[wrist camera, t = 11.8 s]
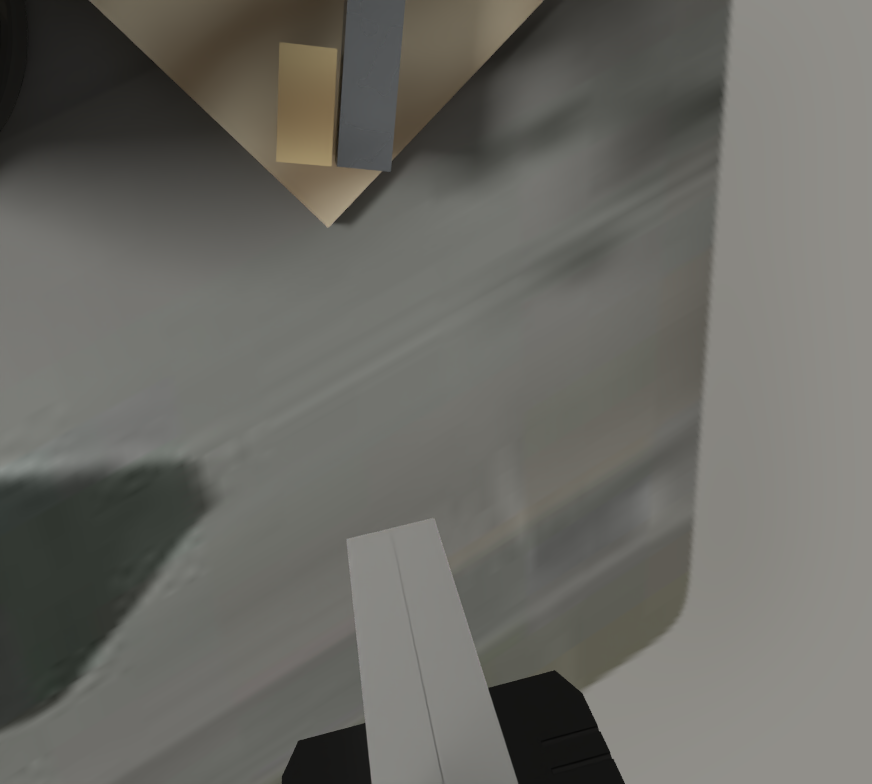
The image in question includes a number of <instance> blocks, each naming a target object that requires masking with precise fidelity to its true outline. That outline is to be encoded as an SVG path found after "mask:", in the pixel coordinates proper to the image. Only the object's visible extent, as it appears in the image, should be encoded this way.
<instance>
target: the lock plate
mask: <svg viewBox="0 0 872 784" xmlns="http://www.w3.org/2000/svg"><path fill="white" fill-rule="evenodd" d="M89 1H90V2H91V3H92V4H93V5H94V6H96V7H97V8H98V9H99V10H100V11H101V12H102V13H103V14H104V15H105V16H106V17H107V18H108V19H109V20H110V21H111V22H112V23H113V24H114V25H116V26H117V27H118V28H119V29H120V30H121V31H122V32H123V33H124V34H125V35H126V36H127V37H128V38H129V39H130V40H131V41H132V42H133V43H134V44H135V45H137V46H138V47H139V48H140V49H141V50H142V51H143V52H144V53H145V54H146V55H147V56H148V57H149V58H150V59H151V60H152V61H153V62H154V63H155V64H157V65H158V66H159V67H160V68H161V69H162V70H163V71H164V72H165V73H166V74H167V75H168V76H169V77H170V78H171V79H172V80H173V81H174V82H175V83H176V84H178V85H179V86H180V87H181V88H182V89H183V90H184V91H185V92H186V93H187V94H188V95H189V96H190V97H191V98H192V99H193V100H194V101H195V102H196V103H197V104H199V105H200V106H201V107H202V108H203V109H204V110H205V111H206V112H207V113H208V114H209V115H210V116H211V117H212V118H213V119H214V120H215V121H216V122H217V123H219V124H220V125H221V126H222V127H223V128H224V129H225V130H226V131H227V132H228V133H229V134H230V135H231V136H232V137H233V138H234V139H235V140H236V141H237V142H238V143H240V144H241V145H242V146H243V147H244V148H245V149H246V150H247V151H248V152H249V153H250V154H251V155H252V156H253V157H254V158H255V159H256V160H257V161H258V162H260V163H261V164H262V165H263V166H264V167H265V168H266V169H267V170H268V171H269V172H270V173H271V174H272V175H273V176H274V177H275V178H276V179H277V180H278V181H279V182H281V183H282V184H283V185H284V186H285V187H286V188H287V189H288V190H289V191H290V192H291V193H292V194H293V195H294V196H295V197H296V198H297V199H298V200H299V201H301V202H302V203H303V204H304V205H305V206H306V207H307V208H308V209H309V210H310V211H311V212H312V213H313V214H314V215H315V216H316V217H317V218H318V219H319V220H320V221H322V222H323V223H324V224H325V225H326V226H327V227H328V228H329V227H330V226H331V225H332V223H333V222H334V221H335V220H336V219H337V218H338V217H339V216H340V215H341V214H342V213H343V212H344V211H345V210H346V209H347V208H348V207H349V206H350V204H351V203H352V202H353V201H354V200H355V199H356V198H357V197H358V196H359V195H360V194H361V193H362V192H363V191H364V190H365V189H366V188H367V187H368V185H369V184H370V183H371V182H372V181H373V180H374V179H375V178H376V177H377V176H378V175H379V174H380V173H381V172H382V171H376V170H366V169H356V168H346V167H337V166H336V164H335V162H334V158H335V142H336V126H337V109H338V93H339V77H340V61H341V45H342V28H343V12H344V0H89ZM543 1H544V0H405V11H404V23H403V35H402V46H401V58H400V70H399V82H398V93H397V105H396V117H395V128H394V140H393V152H392V160H393V159H394V158H395V157H396V156H397V155H398V154H399V153H400V152H401V151H402V150H403V149H404V147H405V146H406V145H407V144H408V143H409V142H410V141H411V140H412V139H413V138H414V137H415V136H416V135H417V134H418V133H419V132H420V131H421V130H422V128H423V127H424V126H425V125H426V124H427V123H428V122H429V121H430V120H431V119H432V118H433V117H434V116H435V115H436V114H437V113H438V112H439V111H440V109H441V108H442V107H443V106H444V105H445V104H446V103H447V102H448V101H449V100H450V99H451V98H452V97H453V96H454V95H455V94H456V93H457V92H458V90H459V89H460V88H461V87H462V86H463V85H464V84H465V83H466V82H467V81H468V80H469V79H470V78H471V77H472V76H473V75H474V74H475V73H476V71H477V70H478V69H479V68H480V67H481V66H482V65H483V64H484V63H485V62H486V61H487V60H488V59H489V58H490V57H491V56H492V55H493V54H494V52H495V51H496V50H497V49H498V48H499V47H500V46H501V45H502V44H503V43H504V42H505V41H506V40H507V39H508V38H509V37H510V36H511V35H512V33H513V32H514V31H515V30H516V29H517V28H518V27H519V26H520V25H521V24H522V23H523V22H524V21H525V20H526V19H527V18H528V17H529V16H530V14H531V13H532V12H533V11H534V10H535V9H536V8H537V7H538V6H539V5H540V4H541V3H542V2H543Z"/></svg>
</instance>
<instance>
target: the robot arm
mask: <svg viewBox="0 0 872 784" xmlns="http://www.w3.org/2000/svg"><path fill="white" fill-rule="evenodd" d="M26 58H27V19H26V10H25V3H24V0H0V131H1V129H2V128H3V126H4V125H5V123H6V121H7V119H8V118H9V116H10V114H11V112H12V110H13V107H14V105H15V103H16V100H17V98H18V94H19V91H20V88H21V85H22V81H23V76H24V72H25V65H26ZM346 540H347V550H348V559H349V569H350V579H351V588H352V598H353V608H354V617H355V627H356V637H357V646H358V656H359V666H360V675H361V685H362V695H363V704H364V714H365V723H364V724H360V725H356V726H352V727H349V728H345V729H341V730H337V731H334V732H330V733H326V734H322V735H319V736H315V737H311V738H307V739H303V740H300V741H298V743H297V745H296V747H295V749H294V752H293V754H292V756H291V758H290V760H289V763H288V765H287V767H286V769H285V771H284V773H283V776H282V784H625V783H624V781H623V779H622V776H621V774H620V772H619V770H618V768H617V766H616V764H615V762H614V759H612V757H611V755H610V751H609V749H608V747H607V745H606V742H605V741H604V738H603V736H602V734H601V732H599V730H598V726H597V723H596V721H595V719H594V717H593V715H592V713H591V711H590V709H589V706H588V704H587V702H586V700H585V698H584V696H583V694H582V693H581V692H580V691H579V690H578V689H576V688H575V687H574V686H573V685H572V684H571V683H569V682H568V681H567V680H566V679H565V678H563V677H562V676H561V675H560V674H559V673H558V672H556V671H555V670H554V671H551V672H547V673H543V674H539V675H535V676H532V677H528V678H524V679H520V680H517V681H513V682H509V683H505V684H501V685H498V686H494V687H490V688H488V687H487V683H486V680H485V677H484V674H483V671H482V668H481V665H480V661H479V658H478V655H477V652H476V649H475V646H474V642H473V639H472V636H471V633H470V630H469V627H468V623H467V620H466V617H465V614H464V611H463V608H462V604H461V601H460V598H459V595H458V592H457V589H456V586H455V582H454V579H453V576H452V573H451V570H450V567H449V563H448V560H447V557H446V554H445V551H444V548H443V544H442V541H441V538H440V535H439V532H438V529H437V526H436V522H435V519H434V518H431V519H427V520H423V521H418V522H414V523H410V524H406V525H402V526H398V527H394V528H390V529H386V530H382V531H378V532H373V533H369V534H365V535H361V536H357V537H353V538H349V539H346Z"/></svg>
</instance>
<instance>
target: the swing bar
mask: <svg viewBox="0 0 872 784" xmlns="http://www.w3.org/2000/svg"><path fill="white" fill-rule="evenodd" d="M404 11H405V0H344V12H343V28H342V45H341V61H340V77H339V93H338V109H337V126H336V142H335V158H334V162H335V164H336V166H337V167H346V168H356V169H366V170H376V171H386V172H391V164H392V152H393V140H394V128H395V117H396V105H397V93H398V82H399V70H400V58H401V46H402V35H403V23H404Z"/></svg>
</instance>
